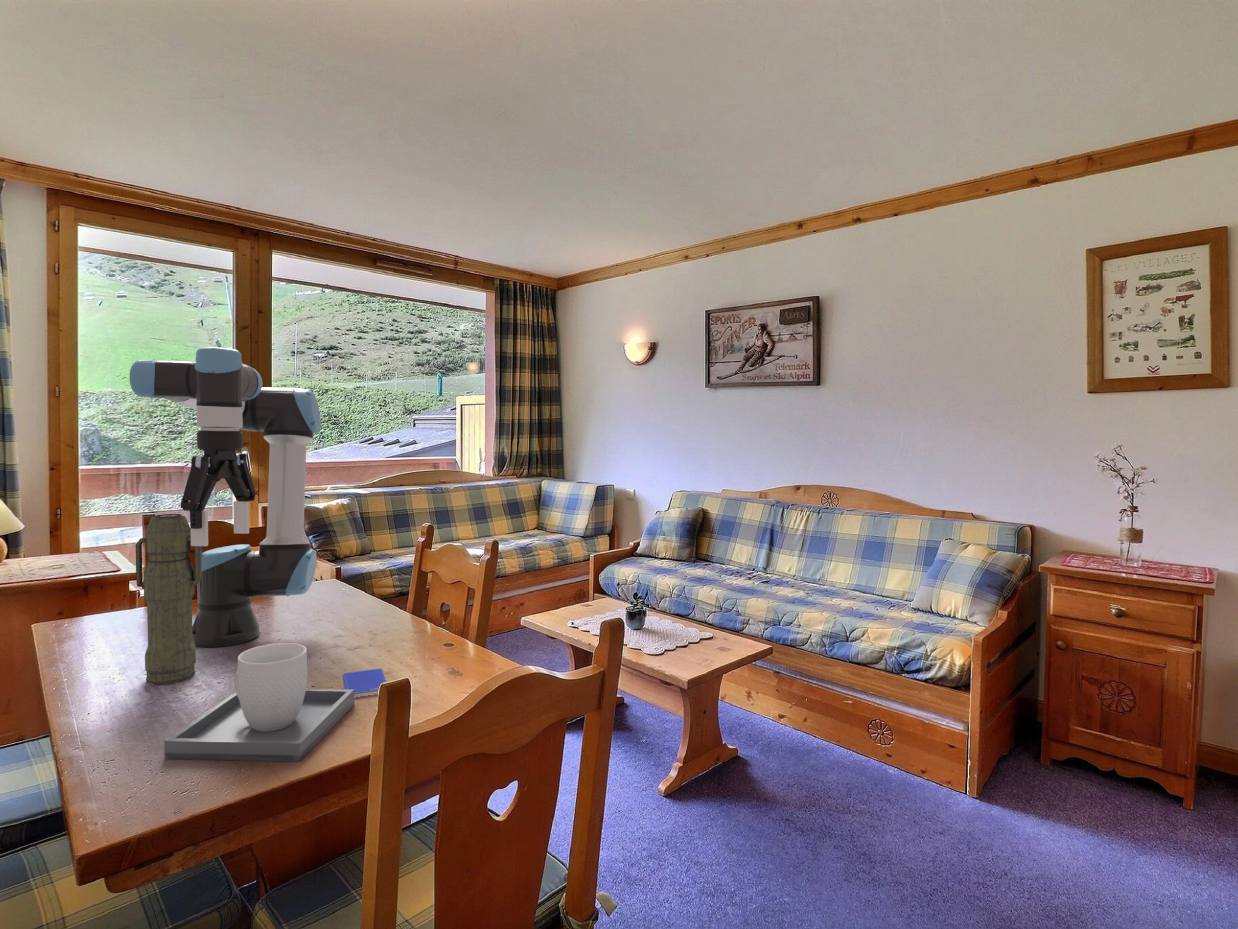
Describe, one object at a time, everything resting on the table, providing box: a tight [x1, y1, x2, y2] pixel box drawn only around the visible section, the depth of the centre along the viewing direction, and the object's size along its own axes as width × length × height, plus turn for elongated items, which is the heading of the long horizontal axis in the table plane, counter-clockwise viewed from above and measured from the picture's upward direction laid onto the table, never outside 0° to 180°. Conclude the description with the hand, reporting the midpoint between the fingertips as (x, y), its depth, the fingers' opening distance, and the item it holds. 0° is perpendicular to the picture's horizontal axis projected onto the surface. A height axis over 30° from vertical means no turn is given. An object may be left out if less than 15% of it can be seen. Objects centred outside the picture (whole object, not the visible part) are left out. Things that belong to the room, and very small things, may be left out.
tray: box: [163, 688, 355, 762], centre depth 117 cm, size 22×22×3 cm
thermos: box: [134, 513, 203, 686], centre depth 139 cm, size 9×12×35 cm
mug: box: [234, 642, 308, 732], centre depth 117 cm, size 15×11×13 cm
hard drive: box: [342, 668, 387, 699], centre depth 138 cm, size 2×8×12 cm
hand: (221, 539), depth 126 cm, fingers open, 13 cm apart
